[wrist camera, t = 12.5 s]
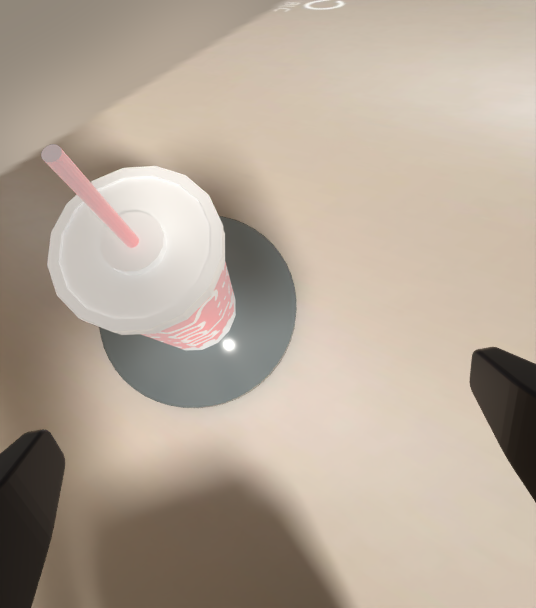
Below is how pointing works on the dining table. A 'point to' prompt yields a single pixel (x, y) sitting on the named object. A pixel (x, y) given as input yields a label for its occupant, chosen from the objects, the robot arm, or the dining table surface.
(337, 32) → the dining table surface
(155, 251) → the beverage cup
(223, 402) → the coaster
